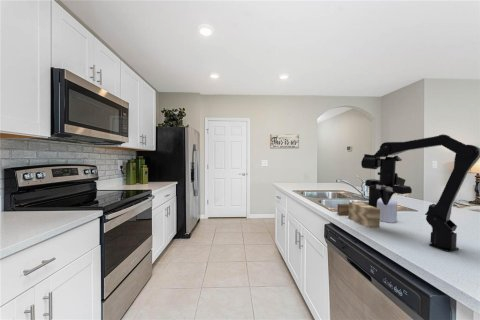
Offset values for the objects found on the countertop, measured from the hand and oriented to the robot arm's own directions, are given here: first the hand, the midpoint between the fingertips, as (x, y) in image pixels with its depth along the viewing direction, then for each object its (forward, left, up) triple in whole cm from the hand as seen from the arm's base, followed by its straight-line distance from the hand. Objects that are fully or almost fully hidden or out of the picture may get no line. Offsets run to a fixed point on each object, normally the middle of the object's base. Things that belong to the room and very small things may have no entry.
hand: (385, 204), depth 103 cm
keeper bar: (+14, -3, -12) cm, 19 cm away
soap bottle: (+13, -19, -12) cm, 26 cm away
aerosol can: (+24, -25, -12) cm, 37 cm away
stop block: (+28, -7, -12) cm, 31 cm away
